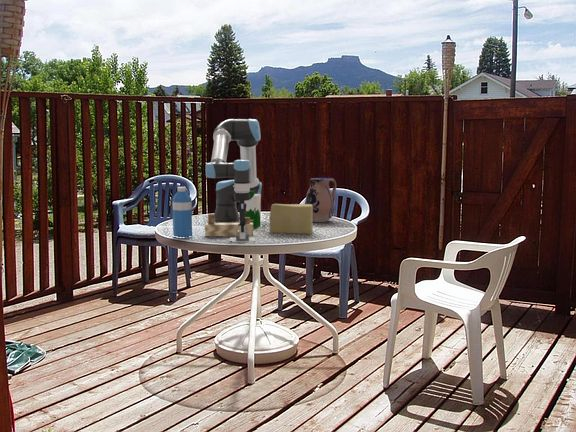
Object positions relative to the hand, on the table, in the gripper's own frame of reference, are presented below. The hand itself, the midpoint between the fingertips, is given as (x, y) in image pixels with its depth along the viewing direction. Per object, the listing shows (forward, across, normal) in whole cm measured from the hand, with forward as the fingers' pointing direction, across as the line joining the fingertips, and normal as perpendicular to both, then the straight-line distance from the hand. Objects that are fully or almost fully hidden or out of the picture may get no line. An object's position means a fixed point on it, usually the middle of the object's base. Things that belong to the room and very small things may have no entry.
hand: (242, 236), depth 306 cm
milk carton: (+2, -39, +6) cm, 39 cm away
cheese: (+2, -19, +26) cm, 32 cm away
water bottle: (+2, -10, -30) cm, 31 cm away
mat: (+2, 0, 0) cm, 2 cm away
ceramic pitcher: (+2, -58, +47) cm, 74 cm away
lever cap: (+1, 0, 0) cm, 1 cm away
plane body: (+2, -13, -6) cm, 15 cm away
